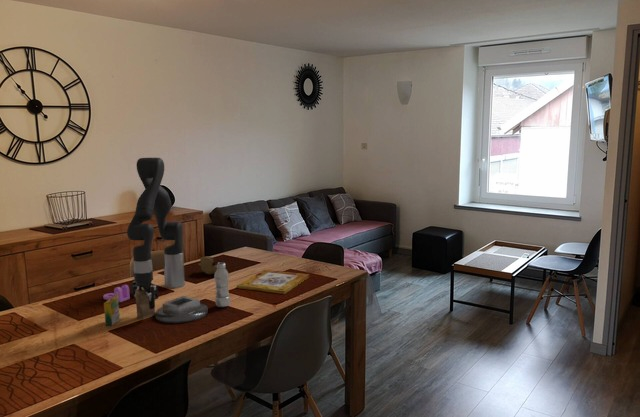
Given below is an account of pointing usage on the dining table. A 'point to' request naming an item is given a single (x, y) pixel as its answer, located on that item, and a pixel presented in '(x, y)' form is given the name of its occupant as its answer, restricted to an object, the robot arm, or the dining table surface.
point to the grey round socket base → (181, 310)
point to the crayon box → (111, 311)
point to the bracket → (119, 293)
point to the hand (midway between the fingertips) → (145, 306)
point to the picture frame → (273, 281)
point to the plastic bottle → (222, 286)
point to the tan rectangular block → (143, 305)
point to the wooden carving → (208, 265)
